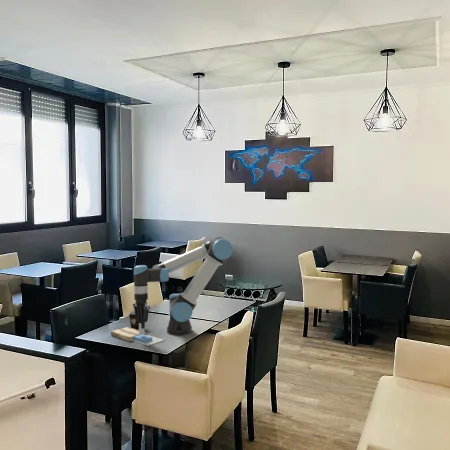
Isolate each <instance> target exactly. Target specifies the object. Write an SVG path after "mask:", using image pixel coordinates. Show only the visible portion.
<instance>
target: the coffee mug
mask: <svg viewBox="0 0 450 450" xmlns="http://www.w3.org/2000/svg"><path fill="white" fill-rule="evenodd" d="M128 315H129V322H130V328H133V329H136V330H139V322H138V321H136V318H135V311H134V310H133V311H132V310H131V311H129V313H128Z"/></svg>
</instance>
